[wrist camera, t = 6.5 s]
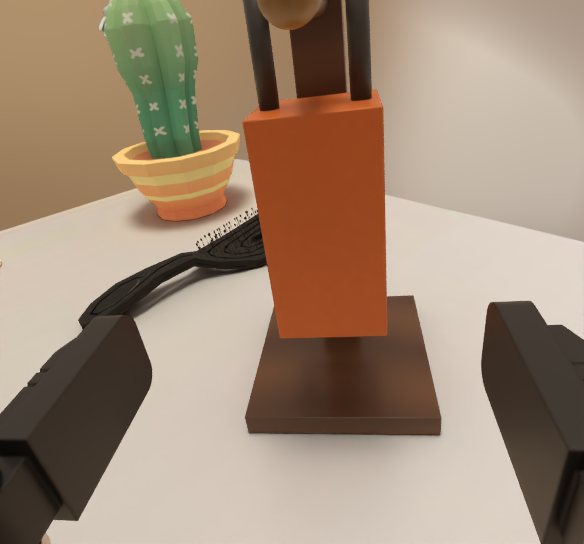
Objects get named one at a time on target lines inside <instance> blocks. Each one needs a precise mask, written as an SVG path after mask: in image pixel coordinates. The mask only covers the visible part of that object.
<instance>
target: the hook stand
mask: <svg viewBox="0 0 584 544" xmlns="http://www.w3.org/2000/svg"><path fill="white" fill-rule="evenodd" d="M257 3H258V6H259V9H260V11H261V13H262V14H263V16H264V17H265V18H266V20H267V21H268V22H270V23H271V24H272V25H274V26H275V27H277V28H280V29H284V30H290V38H291V47H292V57H293V65H294V75H295V83H296V93H297V99H298V98H306V97H315V96H324V95H333V94H341V93H347V75H346V57H345V41H344V22H343V5H342V0H257ZM245 419H246V423H247V427H248V431H249V432H255V433H341V434H428V435H440V432H441V415H440V410H439V406H438V401H437V397H436V393H435V388H434V384H433V379H432V375H431V371H430V366H429V362H428V357H427V353H426V349H425V344H424V340H423V336H422V331H421V327H420V322H419V318H418V314H417V309H416V305H415V300H414V296H389V297H387V336H357V337H316V338H280V335H279V329H278V323H277V318H276V312H275V306H274V309H273V313H272V316H271V320H270V324H269V328H268V332H267V336H266V339H265V343H264V347H263V351H262V355H261V358H260V362H259V366H258V370H257V374H256V377H255V381H254V385H253V389H252V393H251V396H250V400H249V404H248V408H247V412H246V416H245Z"/></svg>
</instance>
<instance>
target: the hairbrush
mask: <svg viewBox="0 0 584 544" xmlns="http://www.w3.org/2000/svg"><path fill="white" fill-rule="evenodd" d="M251 209H252V208H251ZM252 210H253V209H252ZM245 212H246V214H247V213H248V211H245ZM257 212H258V210H257ZM253 213H254V212H253ZM255 213H256V211H255ZM251 215H252V213H251ZM254 215H255V214H254ZM247 216H248V215H247ZM240 217H241V215H240ZM248 218H250V217H248ZM236 219H237V217H236ZM244 219H247V218H246V216H245V217H244ZM234 220H235V218H234ZM237 221H238V219H237ZM242 221H243V220H242ZM240 222H241V220H240ZM238 223H239V222H238ZM229 224H230V221H229ZM226 225H227V223H226ZM234 225H235V223H234ZM239 225H240V224H239ZM223 226H224V227H225V225H224V224H223ZM235 226H236V225H235ZM237 226H238V225H237ZM218 229H219V230H220V228H218ZM218 229H217V231H218ZM225 229H226V228H225ZM228 229H230V227H229V228H228ZM229 231H230V232H229V233H226V234H225V235H224V236H222V237H221V236H220V238H219V239H216V240H215V241H213V239H212V238H211V239H212V240H211V242H212V241H213V242H212V243H211V242H210V244H208V245H207V246H204V247H203V248H201V247H198V248H199V250H198V251H194V252H186V253H180V254H178V255H176V256H173V257H171V258H169V259H166V260H164V261H162V262H160V263H157V264H155V265H153V266H150V267H148V268H146V269H144V270H142V271H140V272H138V273H136V274H134V275H132V276H130V277H128V278H126V279H124V280H122V281H120V282H118V283H116V284H115V285H113V286H112V287H111V288H110V289H108V290H107V291H106V292H105V293H103V294H102V295H101V296H100V297H98V298H97V299H96V300H95V301H93V302H92V303H91V304H90V305H89V306H88V308H87V309H86V310H85V312H84V313H83V314H82V316H81V317H80V318H79V320H78V321H79V323H80V325H81V326H82V329H83V330H84V328H85V327H86V326H87V325H88V324H89V323H90V321H91V320H92V319H93V318H95V317H97V316H116V315H122V314H123V313H125V312H126V311H127V310H129V309H130V308H131V307H133V306H134V305H135V304H136V303H138V302H139V301H140V300H141V299H143V298H144V297H145V296H146V295H148V294H149V293H150V292H151V291H152V290H154V289H155V288H156V287H157V286H159V285H160V284H161V283H163V282H165V281H167V280H169V279H171V278H172V277H174V276H176V275H178V274H180V273H182V272H184V271H186V270H188V269H190V268H192V267H194V266H196V267H206V268H217V269H248V268H253V267H257V266H262V265H267V260H266V254H265V249H264V243H263V237H262V231H261V226H260V220H259V214H256V215H255V216H254V217H252V218H251V219H249V220H248V221H246V222H243V224H241V225H240V226H238V227H237V228H235V229H234V230H233V229H232V231H231V230H229ZM220 232H221V231H220ZM224 232H226V230H224ZM214 233H215V231H214ZM218 234H219V235H220V233H218ZM208 235H209V237H211V236H210V233H208ZM215 235H216V236H214V237H215V238H216V237H217V234H215ZM204 237H206V236H205V235H204ZM217 238H218V237H217ZM201 241H202V239H201ZM197 243H199V242H198V241H197ZM197 243H196V245H197V246H198V244H197ZM202 243H203V242H202ZM203 245H204V244H203ZM200 248H201V249H200Z"/></svg>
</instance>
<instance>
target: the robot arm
mask: <svg viewBox="0 0 584 544" xmlns="http://www.w3.org/2000/svg"><path fill="white" fill-rule="evenodd" d="M481 368H482V378H483V383H484V387H485V390H486V393H487V396H488V399H489V401H490V404H491V407H492V410H493V412H494V415H495V418H496V421H497V423H498V426H499V429H500V432H501V434H502V437H503V440H504V443H505V446H506V448H507V451H508V454H509V457H510V459H511V462H512V465H513V468H514V470H515V473H516V476H517V479H518V482H519V484H520V487H521V490H522V493H523V495H524V498H525V501H526V504H527V506H528V509H529V512H530V515H531V517H532V520H533V523H534V526H535V529H536V531H537V534H538V537H539V540H540V542H541V544H584V340H583V339H582V338H580V337H579V336H577V335H576V334H574V333H573V332H572V331H570V330H569V329H567V328H566V327H564V326H563V325H547V324H546V322H545V321H544V319H543V318H542V316H541V314H540V313H539V311H538V310H537V308H536V307H535V305H534V304H533V303H532V302H531V301H513V302H491V303H490V304H489V306H488V309H487V316H486V324H485V333H484V342H483V350H482V360H481ZM151 381H152V366H151V363H150V360H149V357H148V355H147V352H146V349H145V347H144V344H143V341H142V339H141V336H140V333H139V331H138V328H137V326H136V323H135V321H134V319H133V318H132V317H131V316H129V315H116V316H97V317H95V318H93V319H92V320H91V321H90V323H89V324H88V325H87V326H86V327H85V328H84V330H83V331H82V332H81V333H80V334H79V335H78V337H77V338H75V339H73V340H72V341H70V342H69V343H68V344H66V345H65V346H63V347H62V348H60V349H59V350H58V351H56V352H55V353H54V354H53V355H52V356H51V357H50V359H49V360H48V361H47V362H46V363H45V364H44V365H43V366H42V368H41V369H40V373H36V374H35V375H34V377H33V378H32V379H31V380H30V381H29V382H28V383H27V384H28V386H27V387H24V388H23V389H22V390H21V391H20V392H19V393H18V395H17V396H16V397H15V398H14V399H13V400H12V401H11V402H10V404H9V405H8V406H7V407H6V408H5V409H4V410H3V412H2V413H1V414H0V544H51V543H50V539H49V537H48V535H47V534H46V531H47V529H48V528H49V526H50V524H51V522H52V521H53V520H70V521H78V520H79V518H80V516H81V514H82V512H83V510H84V508H85V507H86V505H87V503H88V501H89V499H90V497H91V496H92V494H93V492H94V490H95V488H96V486H97V485H98V483H99V481H100V479H101V477H102V475H103V474H104V472H105V470H106V468H107V466H108V464H109V463H110V461H111V459H112V457H113V455H114V453H115V451H116V450H117V448H118V446H119V444H120V442H121V440H122V439H123V437H124V435H125V433H126V431H127V429H128V428H129V426H130V424H131V422H132V420H133V418H134V417H135V415H136V413H137V411H138V409H139V407H140V406H141V404H142V402H143V400H144V398H145V396H146V395H147V393H148V391H149V389H150V386H151Z"/></svg>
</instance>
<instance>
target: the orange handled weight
mask: <svg viewBox="0 0 584 544" xmlns="http://www.w3.org/2000/svg"><path fill="white" fill-rule="evenodd" d="M345 1H346V18H347V19H346V20H347V38H348V57H349V76H350V93H341V94H333V95H324V96H315V97H306V98H298V99H289V100H280V101H279V99H278V92H277V85H276V76H275V69H274V62H273V53H272V46H271V39H270V31H269V23H268V21H267V20H266V18H265V17H264V16H263V14H262V13H261V11H260V9H259V6H258V3H257V0H243V4H244V11H245V18H246V24H247V31H248V37H249V44H250V50H251V57H252V63H253V70H254V76H255V83H256V89H257V95H258V103H259V106H258V107H257V108H256V109H255V110H254V111H253V112H252V113H251V114H250V115H249V116H248V117H247V118H246V119H245V120H244V121H243V128H244V133H245V139H246V145H247V151H248V156H249V162H250V168H251V174H252V180H253V185H254V191H255V197H256V203H257V208H258V214H259V220H260V226H261V231H262V237H263V243H264V249H265V254H266V260H267V266H268V272H269V277H270V283H271V289H272V295H273V300H274V306H275V312H276V318H277V323H278V329H279V335H280V338H316V337H357V336H387V289H386V234H385V181H384V127H383V126H384V125H383V106H382V103H381V100H380V98H379V95H378V92H377V90H372V86H371V55H370V54H371V53H370V21H369V0H345Z"/></svg>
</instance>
